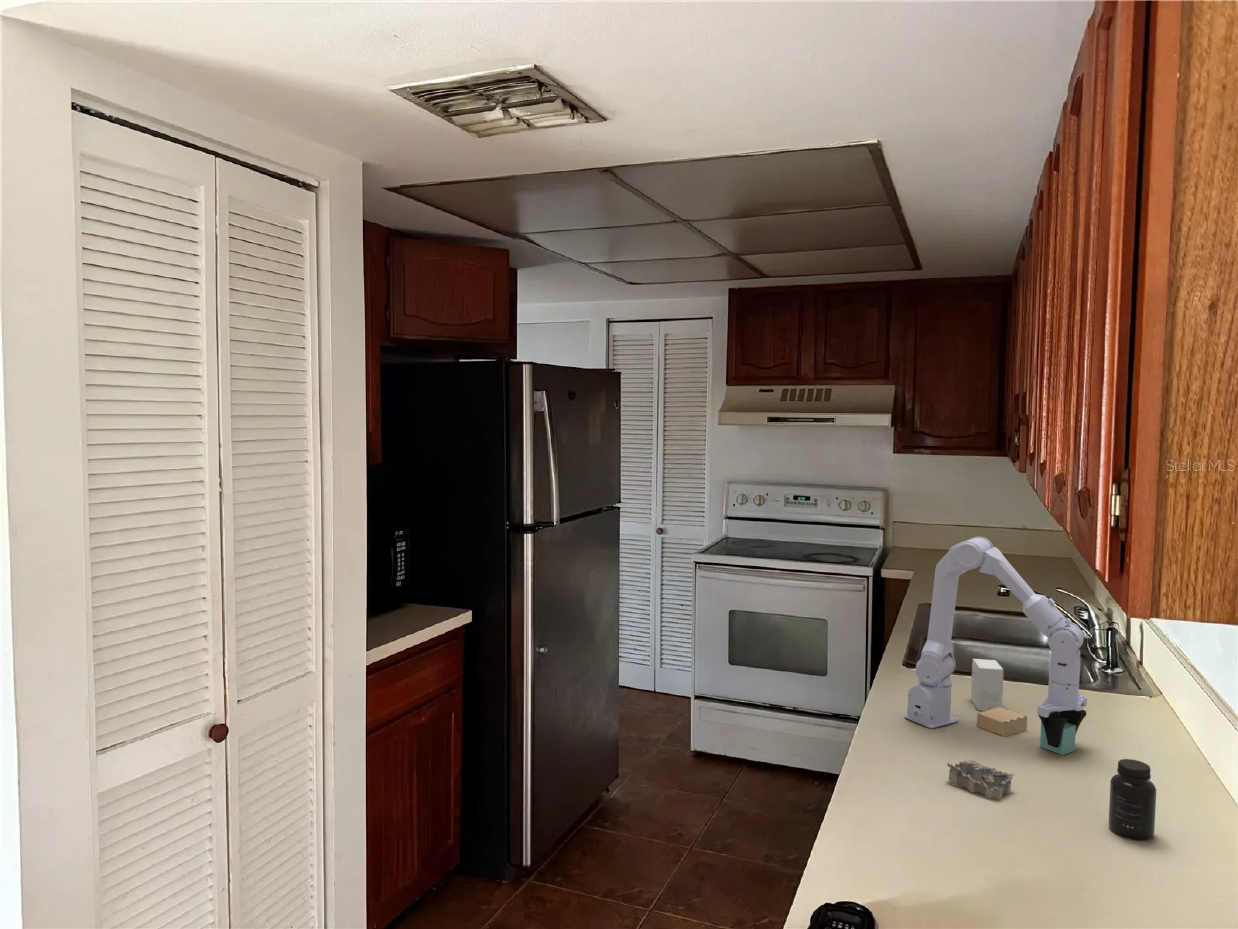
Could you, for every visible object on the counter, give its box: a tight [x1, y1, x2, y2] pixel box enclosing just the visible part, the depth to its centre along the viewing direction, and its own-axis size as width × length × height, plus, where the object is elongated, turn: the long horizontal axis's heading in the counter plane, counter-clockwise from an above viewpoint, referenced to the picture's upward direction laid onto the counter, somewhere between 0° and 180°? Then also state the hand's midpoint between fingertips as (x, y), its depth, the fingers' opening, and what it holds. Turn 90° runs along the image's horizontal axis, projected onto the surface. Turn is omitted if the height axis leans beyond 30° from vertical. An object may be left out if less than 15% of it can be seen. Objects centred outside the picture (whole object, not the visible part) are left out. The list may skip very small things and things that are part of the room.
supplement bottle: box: [1108, 758, 1157, 841], centre depth 147 cm, size 7×7×12 cm
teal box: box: [1039, 720, 1077, 755], centre depth 182 cm, size 4×5×6 cm
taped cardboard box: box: [976, 707, 1028, 737], centre depth 194 cm, size 8×7×3 cm
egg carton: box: [946, 759, 1015, 800], centre depth 164 cm, size 11×8×4 cm
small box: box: [970, 658, 1004, 712], centre depth 208 cm, size 8×6×10 cm
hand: (1060, 743), depth 182 cm, fingers closed on teal box, 4 cm apart
